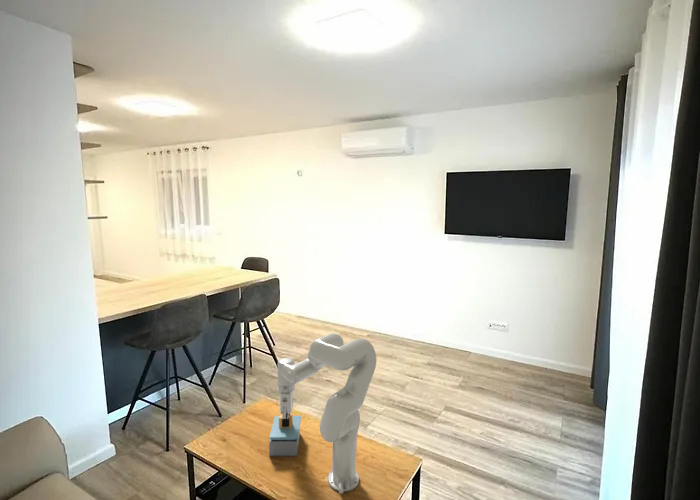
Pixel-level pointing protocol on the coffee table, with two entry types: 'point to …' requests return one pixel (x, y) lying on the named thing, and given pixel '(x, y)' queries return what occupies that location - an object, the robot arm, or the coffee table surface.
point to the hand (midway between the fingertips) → (286, 424)
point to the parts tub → (283, 447)
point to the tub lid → (285, 428)
